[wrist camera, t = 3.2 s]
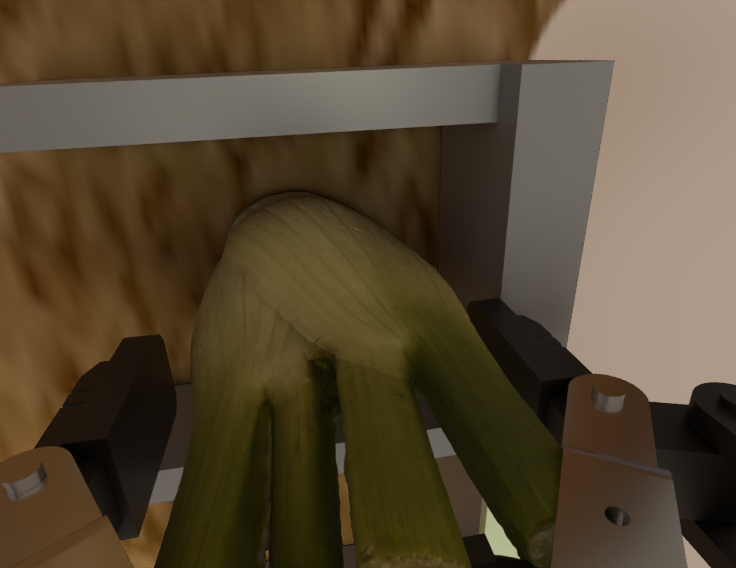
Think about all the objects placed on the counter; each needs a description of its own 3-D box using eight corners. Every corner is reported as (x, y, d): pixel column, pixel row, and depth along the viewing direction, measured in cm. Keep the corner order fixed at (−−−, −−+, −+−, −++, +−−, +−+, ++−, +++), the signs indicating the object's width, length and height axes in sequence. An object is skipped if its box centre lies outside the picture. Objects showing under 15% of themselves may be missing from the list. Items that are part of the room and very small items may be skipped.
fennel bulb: (408, 200, 16) (698, 510, 5) (372, 330, 17) (525, 761, 7) (224, 163, 14) (62, 489, 3) (206, 309, 16) (65, 817, 5)
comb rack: (36, 80, 12) (-116, 93, 8) (508, 60, 14) (627, 60, 9) (193, 591, 22) (169, 745, 17) (469, 540, 23) (519, 665, 19)
